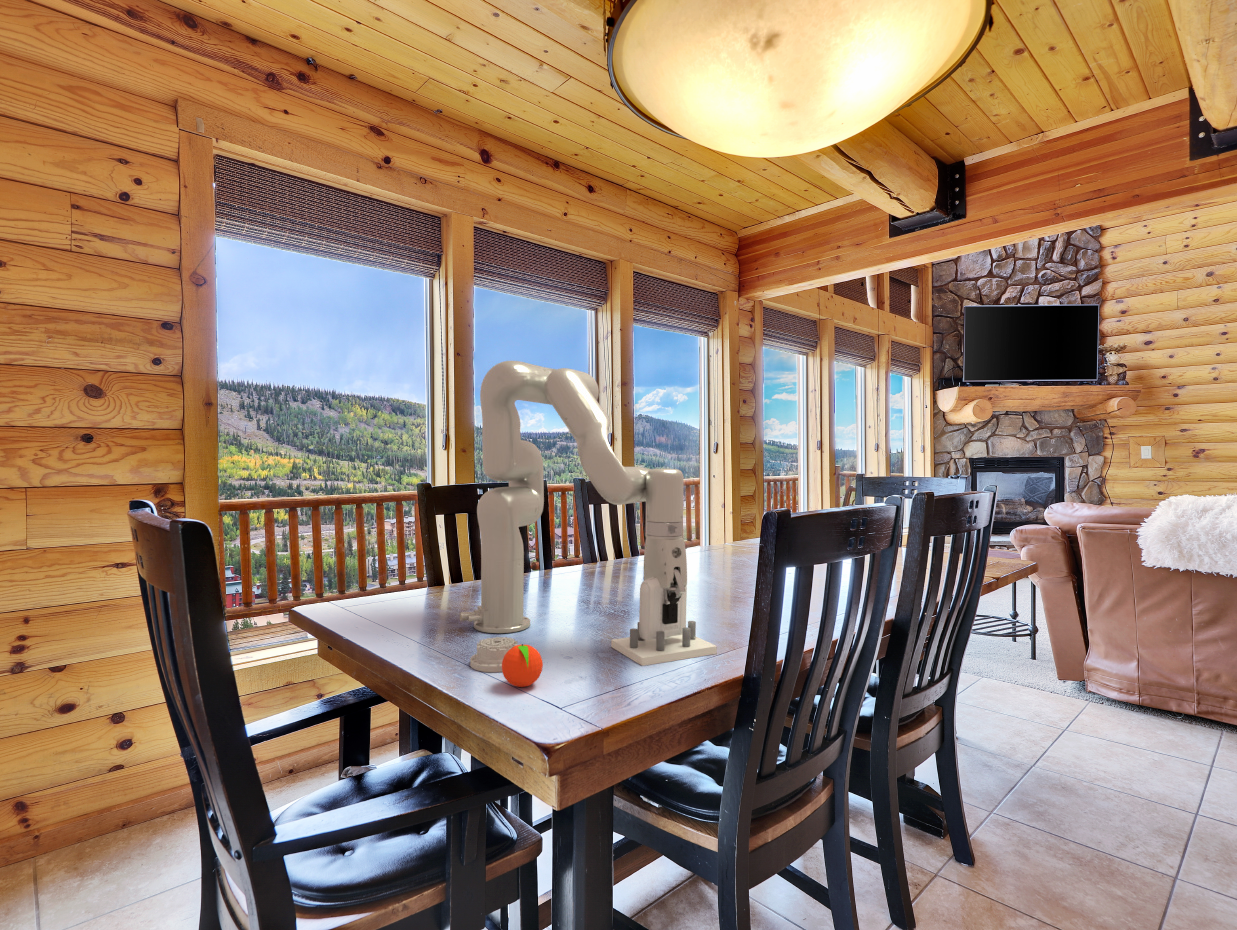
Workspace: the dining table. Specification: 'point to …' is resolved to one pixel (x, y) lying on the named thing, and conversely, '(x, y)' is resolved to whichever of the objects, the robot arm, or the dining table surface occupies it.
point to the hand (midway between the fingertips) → (662, 619)
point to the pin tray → (666, 655)
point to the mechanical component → (491, 654)
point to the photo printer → (658, 611)
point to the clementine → (522, 665)
